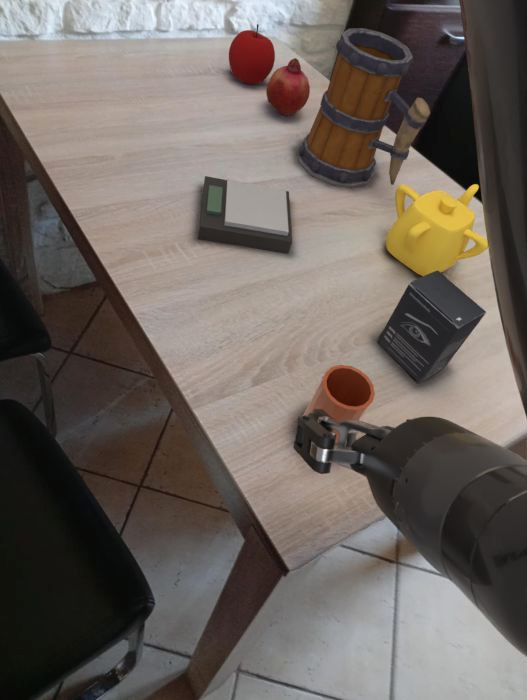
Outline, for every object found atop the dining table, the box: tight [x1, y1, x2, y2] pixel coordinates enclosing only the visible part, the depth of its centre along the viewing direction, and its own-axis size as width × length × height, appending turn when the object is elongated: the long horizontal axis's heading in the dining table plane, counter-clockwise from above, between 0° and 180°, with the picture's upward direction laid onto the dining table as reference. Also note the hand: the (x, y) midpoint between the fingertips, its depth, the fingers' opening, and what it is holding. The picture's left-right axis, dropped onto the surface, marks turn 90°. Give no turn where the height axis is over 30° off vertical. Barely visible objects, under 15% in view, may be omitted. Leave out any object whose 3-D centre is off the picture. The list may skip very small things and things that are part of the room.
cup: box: [302, 364, 376, 443], centre depth 54 cm, size 5×5×9 cm
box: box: [377, 271, 487, 384], centre depth 64 cm, size 8×6×11 cm
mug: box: [296, 27, 431, 189], centre depth 85 cm, size 19×14×20 cm
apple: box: [228, 23, 276, 85], centre depth 103 cm, size 9×9×10 cm
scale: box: [197, 175, 293, 254], centre depth 77 cm, size 13×12×3 cm
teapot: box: [385, 183, 488, 277], centre depth 78 cm, size 14×13×10 cm
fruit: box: [265, 57, 311, 116], centre depth 97 cm, size 8×8×10 cm
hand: (362, 425), depth 46 cm, fingers open, 8 cm apart
